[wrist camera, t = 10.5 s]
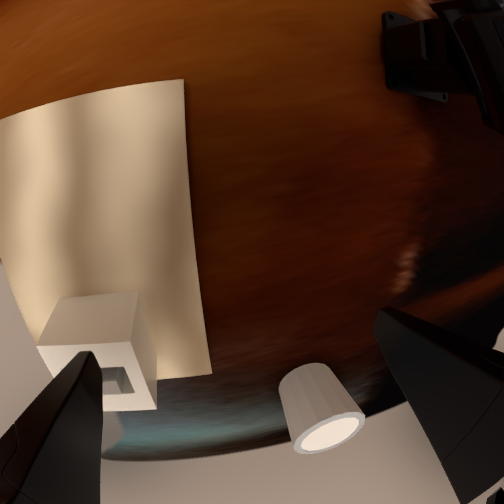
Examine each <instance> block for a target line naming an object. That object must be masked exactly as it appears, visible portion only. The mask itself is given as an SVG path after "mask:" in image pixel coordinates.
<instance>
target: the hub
mask: <svg viewBox="0 0 504 504" xmlns="http://www.w3.org/2000/svg"><path fill="white" fill-rule="evenodd" d="M36 347H37V349H38V351H39V353H40V355H41V357H42V358H43V360H44V362H45V364H46V365H47V367H48V369H49V371H50V372H51V374H52V376H53V378H55V377H56V375H57V374H58V373H59V372H60V371H61V370H62V369H63V368H64V367H65V366H66V365H67V364H68V363H69V362H70V361H71V360H72V359H73V357H74V356H75V355H76V354H77V353H78V352H80V351H92V352H93V353H94V355H95V357H96V359H97V361H98V364H99V366H100V368H105V367H124V368H125V375H124V384H123V393H122V394H118V395H103V411H132V410H151V409H157V355H156V351H155V348H154V345H153V341H152V338H151V334H150V331H149V327H148V324H147V320H146V316H145V312H144V309H143V305H142V301H141V297H140V293H139V291H130V292H120V293H111V294H101V295H91V296H80V297H70V298H59V300H58V302H57V304H56V306H55V308H54V310H53V312H52V313H51V315H50V317H49V319H48V321H47V323H46V325H45V328H44V330H43V332H42V334H41V336H40V338H39V340H38V342H37V344H36Z"/></svg>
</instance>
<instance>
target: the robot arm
mask: <svg viewBox="0 0 504 504" xmlns="http://www.w3.org/2000/svg"><path fill="white" fill-rule="evenodd" d="M429 5H430V6H431V8H432V10H433V11H435V12H436V14H437V16H438V17H436V18H431V19H426V20H419V21H415V20H413V19H410V18H407V17H405V16H402V15H399V14H397V13H394V12H391V11H387V12H384V13H383V27H384V42H385V60H386V84H387V87H388V88H389V89H390V90H393V91H398V92H402V93H407V94H411V95H415V96H419V97H423V98H427V99H431V100H435V101H438V102H444V103H446V102H447V101H448V93H454V94H467V95H475V97H476V100H477V103H478V105H479V108H480V111H481V114H482V116H481V118H482V121H483V124H484V125H486V126H488V127H490V128H491V129H493V130H495V131H497V132H498V133H500V134H502V135H504V0H437V1H435V2H432V3H430V4H429ZM388 16H390V18H391V19H390V18H389V17H388ZM392 82H394V86H393V84H392ZM442 95H443V97H442ZM373 332H374V336H375V338H376V340H377V342H378V344H379V346H380V349H381V351H382V353H383V355H384V357H385V360H386V362H387V364H388V366H389V368H390V370H391V372H392V374H393V376H394V377H395V379H396V381H397V383H398V384H399V386H400V388H401V390H402V391H403V393H404V395H405V397H406V398H407V400H408V402H409V404H410V406H411V407H412V409H413V411H414V413H415V415H416V416H417V418H418V420H419V422H420V424H421V426H422V428H423V430H424V431H425V433H426V435H427V437H428V439H429V441H430V443H431V445H432V447H433V449H434V450H435V452H436V454H437V456H438V458H439V460H440V462H441V465H442V466H443V468H444V471H445V473H446V475H447V477H448V479H449V481H450V482H451V485H452V487H453V489H454V491H455V493H456V496H457V498H458V500H459V502H460V504H468V503H469V502H471V501H472V500H474V499H475V498H477V497H478V496H479V495H481V494H482V493H483V492H485V491H486V490H488V489H489V488H490V487H491V486H493V485H494V484H496V483H497V482H498V483H499V484H500V487H499V488H498V489H497V490H496V491H495V492H494V493H493V494H492V495H491V496H489V497H488V498H487V502H486V504H504V353H503V352H500V351H497V350H494V349H492V348H489V347H487V346H484V345H482V344H479V343H477V342H476V343H475V342H474V341H472V340H470V339H467V338H465V337H462V336H460V335H458V334H455V333H453V332H450V331H448V330H446V329H443V328H441V327H438V326H436V325H434V324H431V323H429V322H426V321H424V320H422V319H419V318H417V317H414V316H412V315H410V314H407V313H405V312H402V311H400V310H397V309H395V308H393V307H384V308H381V309H379V310H378V312H377V316H376V320H375V323H374V327H373ZM102 428H103V375H102V370H101V368H100V366H99V364H98V361H97V359H96V357H95V355H94V353H93V352H92V351H80V352H78V353H77V354H76V355H75V356H74V357H73V359H72V360H71V361H70V362H69V363H68V364H67V365H66V366H65V367H64V368H63V369H62V370H61V371H60V372H59V373H58V374H57V375H56V377H55V378H54V379H53V380H52V381H51V382H50V383H49V384H48V385H47V386H46V387H45V388H44V390H43V391H42V392H41V393H40V394H39V395H38V396H37V397H36V398H35V400H34V401H33V402H32V403H31V404H30V405H29V406H28V407H27V408H26V410H25V411H24V412H23V413H22V414H21V415H20V416H19V418H18V419H17V420H16V421H15V422H14V424H12V426H11V427H10V428H9V429H8V430H7V431H6V433H5V434H4V435H3V436H2V437H1V438H0V504H100V464H101V443H102Z"/></svg>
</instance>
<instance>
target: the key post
mask: <svg viewBox="0 0 504 504" xmlns="http://www.w3.org/2000/svg"><path fill="white" fill-rule="evenodd" d="M101 370H102V375H103V395H118V394H122V393H123V384H124V375H125V368H124V367H105V368H101Z"/></svg>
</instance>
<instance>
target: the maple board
mask: <svg viewBox="0 0 504 504" xmlns="http://www.w3.org/2000/svg"><path fill="white" fill-rule="evenodd" d="M0 258H1V261H2V264H3V267H4V270H5V272H6V275H7V278H8V281H9V283H10V286H11V289H12V292H13V294H14V297H15V299H16V302H17V304H18V306H19V308H20V311H21V313H22V316H23V318H24V320H25V322H26V324H27V327H28V329H29V330H30V333H31V335H32V337H33V339H34V341H35V343H36V344H37V342H38V340H39V338H40V336H41V334H42V332H43V330H44V328H45V325H46V323H47V321H48V319H49V317H50V315H51V313H52V312H53V310H54V308H55V306H56V304H57V302H58V300H59V298H70V297H80V296H91V295H101V294H111V293H120V292H130V291H139V293H140V297H141V301H142V305H143V309H144V312H145V316H146V320H147V324H148V327H149V331H150V334H151V338H152V341H153V345H154V348H155V351H156V355H157V380H158V379H169V378H180V377H189V376H198V375H206V374H212V370H211V364H210V358H209V352H208V345H207V339H206V332H205V325H204V318H203V310H202V303H201V295H200V288H199V279H198V271H197V262H196V253H195V244H194V234H193V224H192V214H191V202H190V190H189V178H188V164H187V148H186V130H185V109H184V79H179V80H168V81H159V82H151V83H144V84H137V85H130V86H124V87H118V88H113V89H107V90H102V91H97V92H93V93H88V94H84V95H79V96H75V97H71V98H67V99H63V100H60V101H56V102H52V103H49V104H45V105H42V106H39V107H36V108H32V109H29V110H26V111H23V112H20V113H17V114H15V115H12V116H9V117H6V118H4V119H1V120H0Z"/></svg>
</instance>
